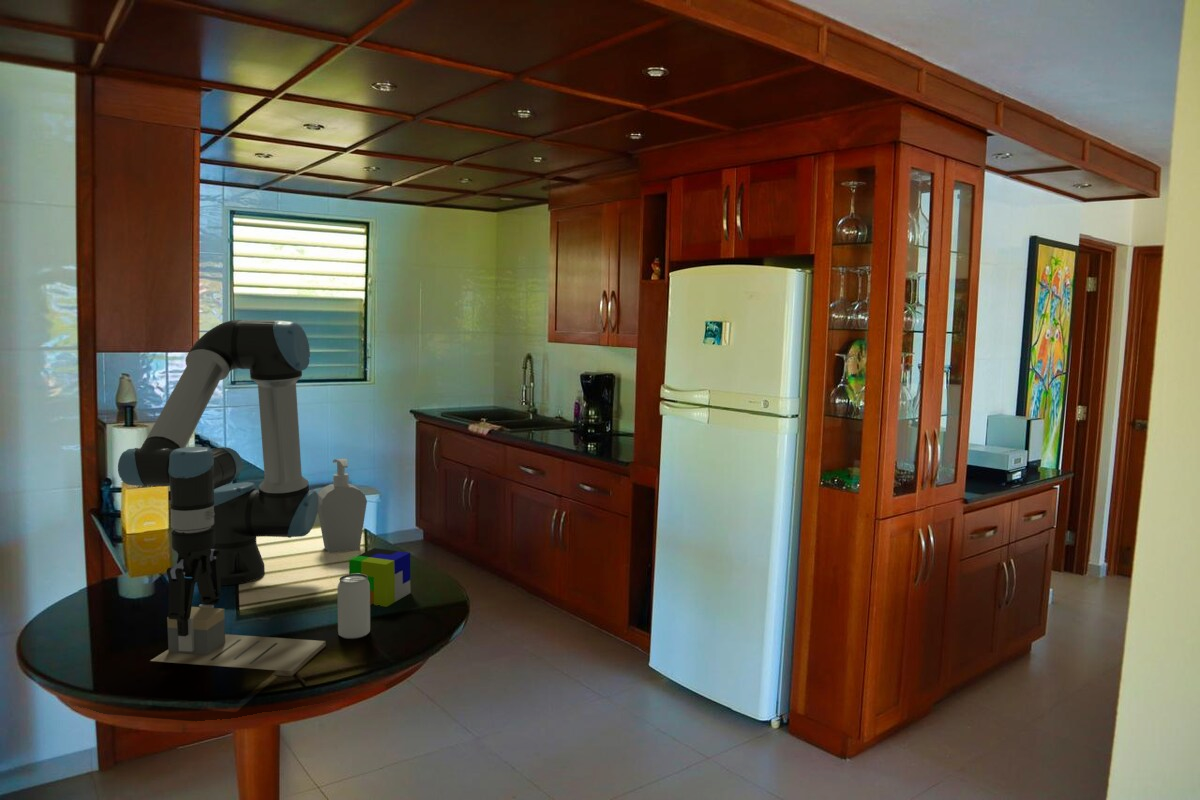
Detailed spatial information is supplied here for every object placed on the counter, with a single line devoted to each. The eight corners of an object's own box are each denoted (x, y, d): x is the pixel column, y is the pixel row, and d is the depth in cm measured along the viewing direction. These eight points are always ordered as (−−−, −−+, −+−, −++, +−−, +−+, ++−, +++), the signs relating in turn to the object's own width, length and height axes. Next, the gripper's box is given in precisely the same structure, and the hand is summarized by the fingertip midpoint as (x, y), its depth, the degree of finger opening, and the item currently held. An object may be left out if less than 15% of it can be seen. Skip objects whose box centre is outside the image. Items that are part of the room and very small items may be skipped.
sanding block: (168, 652, 157) (167, 617, 156) (187, 640, 163) (186, 606, 162) (207, 655, 156) (206, 619, 155) (225, 642, 162) (224, 608, 161)
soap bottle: (323, 556, 222) (322, 463, 220) (316, 547, 231) (314, 457, 228) (369, 551, 228) (368, 460, 226) (360, 542, 237) (359, 454, 234)
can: (342, 627, 173) (341, 573, 172) (373, 627, 174) (372, 572, 172) (334, 639, 167) (333, 583, 165) (366, 639, 167) (366, 582, 166)
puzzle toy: (410, 593, 195) (410, 552, 194) (386, 607, 186) (386, 564, 185) (374, 587, 199) (374, 548, 198) (349, 601, 189) (349, 559, 188)
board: (150, 665, 153) (149, 660, 153) (195, 636, 167) (195, 632, 167) (291, 676, 150) (291, 671, 150) (325, 645, 164) (325, 641, 163)
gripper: (180, 542, 147) (185, 665, 149) (239, 516, 166) (242, 626, 168) (142, 540, 148) (147, 662, 150) (204, 515, 166) (207, 623, 169)
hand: (197, 643), depth 159 cm, fingers closed on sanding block, 6 cm apart
